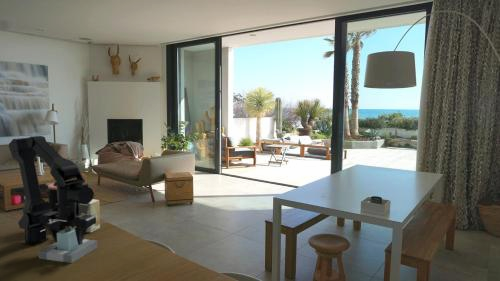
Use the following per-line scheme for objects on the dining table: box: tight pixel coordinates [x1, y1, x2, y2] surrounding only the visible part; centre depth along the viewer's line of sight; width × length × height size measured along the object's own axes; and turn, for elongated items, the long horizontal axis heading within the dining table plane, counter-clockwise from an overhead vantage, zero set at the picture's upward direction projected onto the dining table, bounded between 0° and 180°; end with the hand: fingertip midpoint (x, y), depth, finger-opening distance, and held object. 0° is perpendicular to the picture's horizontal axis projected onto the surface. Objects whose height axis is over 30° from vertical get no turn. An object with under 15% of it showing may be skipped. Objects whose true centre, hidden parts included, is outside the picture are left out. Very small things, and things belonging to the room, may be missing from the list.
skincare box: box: [80, 198, 101, 233], centre depth 144 cm, size 6×4×12 cm
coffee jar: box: [47, 182, 79, 231], centre depth 148 cm, size 11×11×18 cm
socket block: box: [37, 238, 98, 264], centre depth 123 cm, size 13×13×2 cm
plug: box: [57, 226, 79, 251], centre depth 122 cm, size 4×6×10 cm
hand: (68, 243), depth 122 cm, fingers open, 9 cm apart
